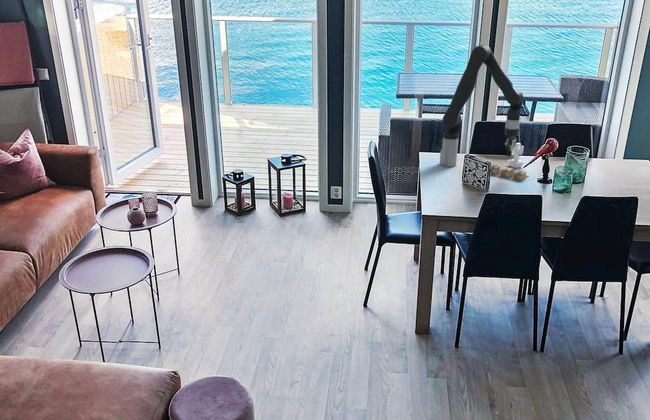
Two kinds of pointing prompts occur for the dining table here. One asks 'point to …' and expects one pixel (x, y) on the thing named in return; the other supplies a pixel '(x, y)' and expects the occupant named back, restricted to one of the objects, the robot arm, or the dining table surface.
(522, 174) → the marked block 2
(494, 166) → the marked block 1
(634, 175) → the dining table surface
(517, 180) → the mat
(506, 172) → the plain block
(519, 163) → the figurine
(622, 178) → the dining table surface
